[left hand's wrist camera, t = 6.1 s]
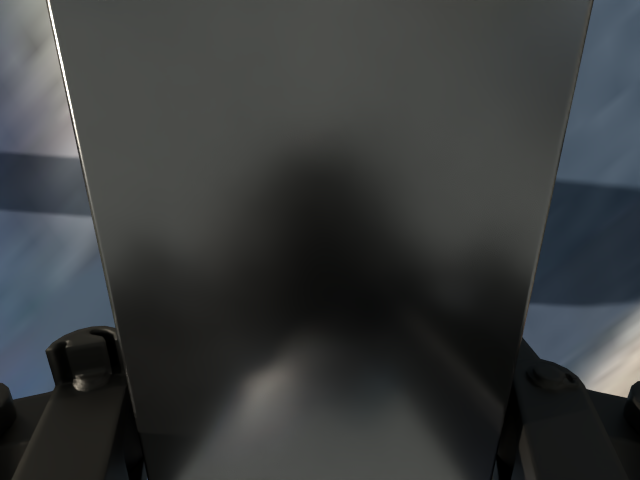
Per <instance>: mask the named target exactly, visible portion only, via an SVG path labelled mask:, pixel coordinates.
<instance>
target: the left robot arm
mask: <svg viewBox="0 0 640 480" xmlns="http://www.w3.org/2000/svg"><path fill="white" fill-rule="evenodd" d="M46 355H47V358H48V362H49V365H50V368H51V372H52V375H53V379H54V382H55V385H56V386H55V388H54V390H53V391H51V392H47V393H43V394H38V395H33V396H29V397H24V398H19V399H14V400H13V399H12V396H11V393H10V390H9V388H8V387H7V386H6V385H4V384H3V383H0V480H147V473H146V469H145V464H144V459H143V454H142V450H141V445H140V440H139V436H138V431H137V426H136V422H135V417H134V412H133V407H132V403H131V398H130V393H129V389H128V384H127V379H126V375H125V370H124V365H123V360H122V356H121V351H120V346H119V342H118V337H117V332H116V328H113V327H108V326H94V327H88V328H84V329H79V330H76V331H74V332H71V333H69V334H66V335H64V336H62V337H61V338H59V339H58V340H56V341H55V342H53V343H52V344H51V345H50V346H49V347H48V348H47V349H46ZM492 480H640V381H638V382H636V383H635V384H634V385H632V386H631V389H630V392H629V395H628V398H625V397H620V396H615V395H610V394H606V393H601V392H596V391H592V390H588V389H586V387H585V385H584V384H583V383H582V381H581V380H580V379H579V377H578V376H576V375H575V374H574V373H572V372H571V371H570V370H568V369H567V368H565V367H562V366H560V365H558V364H556V363H554V362H550V361H546V360H543V359H540V358H539V357H538V356H537V354H536V353H535V352H534V351H533V350H532V348H531V347H530V346H529V345H528V344H527V342H526V341H525V340H524V339H523V338H522V340H521V344H520V349H519V354H518V358H517V363H516V368H515V373H514V377H513V382H512V387H511V391H510V396H509V401H508V406H507V410H506V415H505V420H504V424H503V429H502V434H501V438H500V443H499V448H498V453H497V457H496V462H495V467H494V471H493V476H492Z"/></svg>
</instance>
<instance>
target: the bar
mask: <svg viewBox="0 0 640 480" xmlns="http://www.w3.org/2000/svg"><path fill="white" fill-rule="evenodd" d="M593 1H594V0H46V3H47V8H48V13H49V17H50V22H51V27H52V31H53V36H54V41H55V45H56V50H57V55H58V60H59V64H60V69H61V74H62V78H63V83H64V88H65V92H66V97H67V102H68V107H69V111H70V116H71V121H72V125H73V130H74V135H75V139H76V144H77V149H78V154H79V158H80V163H81V168H82V172H83V177H84V182H85V186H86V191H87V196H88V201H89V205H90V210H91V215H92V219H93V224H94V229H95V233H96V238H97V243H98V248H99V252H100V257H101V262H102V266H103V271H104V276H105V281H106V285H107V290H108V295H109V299H110V304H111V309H112V313H113V318H114V323H115V328H116V332H117V337H118V342H119V346H120V351H121V356H122V360H123V365H124V370H125V375H126V379H127V384H128V389H129V393H130V398H131V403H132V407H133V412H134V417H135V422H136V426H137V431H138V436H139V440H140V445H141V450H142V454H143V459H144V464H145V469H146V473H147V478H148V480H492V476H493V471H494V467H495V462H496V457H497V453H498V448H499V443H500V438H501V434H502V429H503V424H504V420H505V415H506V410H507V406H508V401H509V396H510V391H511V387H512V382H513V377H514V373H515V368H516V363H517V358H518V354H519V349H520V344H521V340H522V335H523V330H524V326H525V321H526V316H527V311H528V307H529V302H530V297H531V293H532V288H533V283H534V279H535V274H536V269H537V264H538V260H539V255H540V250H541V246H542V241H543V236H544V232H545V227H546V222H547V217H548V213H549V208H550V203H551V199H552V194H553V189H554V184H555V180H556V175H557V170H558V166H559V161H560V156H561V152H562V147H563V142H564V137H565V133H566V128H567V123H568V119H569V114H570V109H571V105H572V100H573V95H574V90H575V86H576V81H577V76H578V72H579V67H580V62H581V58H582V53H583V48H584V43H585V39H586V34H587V29H588V25H589V20H590V15H591V10H592V6H593Z"/></svg>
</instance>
